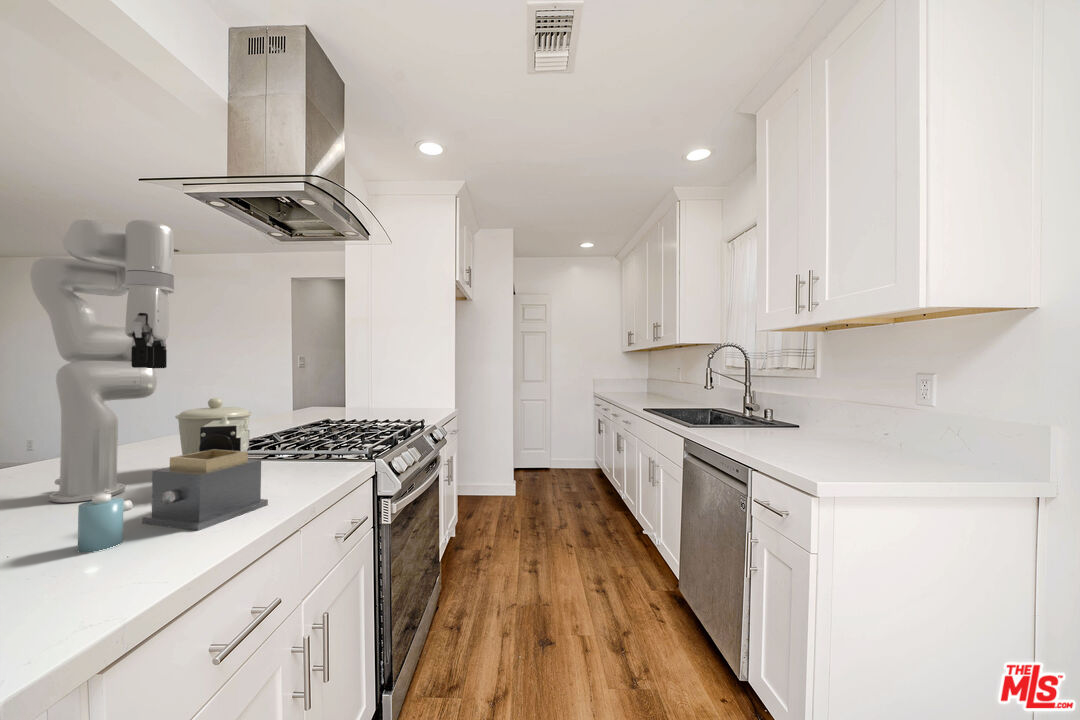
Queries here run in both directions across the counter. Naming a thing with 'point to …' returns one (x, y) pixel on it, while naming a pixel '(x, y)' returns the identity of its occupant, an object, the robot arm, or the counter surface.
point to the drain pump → (101, 522)
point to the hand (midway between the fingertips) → (150, 367)
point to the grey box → (205, 489)
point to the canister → (205, 422)
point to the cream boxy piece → (224, 435)
